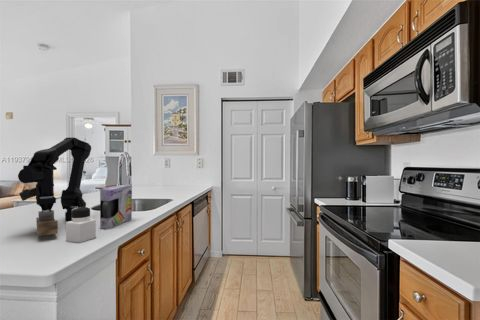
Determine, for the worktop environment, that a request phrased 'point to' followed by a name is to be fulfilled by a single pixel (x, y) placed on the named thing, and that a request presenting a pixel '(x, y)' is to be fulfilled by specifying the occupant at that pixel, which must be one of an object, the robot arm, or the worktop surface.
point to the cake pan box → (115, 205)
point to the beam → (46, 227)
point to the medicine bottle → (80, 226)
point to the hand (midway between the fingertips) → (45, 218)
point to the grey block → (46, 215)
